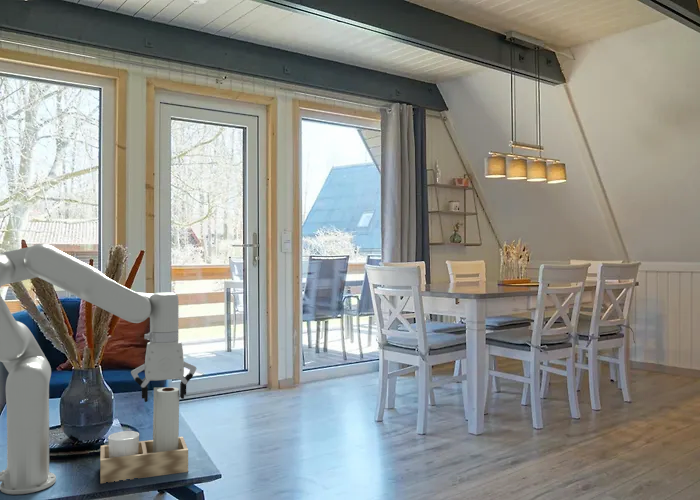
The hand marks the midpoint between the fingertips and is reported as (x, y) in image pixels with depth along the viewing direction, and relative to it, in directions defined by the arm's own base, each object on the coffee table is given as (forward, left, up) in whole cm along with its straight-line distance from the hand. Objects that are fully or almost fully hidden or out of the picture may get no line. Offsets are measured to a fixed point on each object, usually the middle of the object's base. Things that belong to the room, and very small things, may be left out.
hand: (164, 399), depth 167 cm
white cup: (-11, 0, -19) cm, 22 cm away
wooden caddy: (-5, 0, -19) cm, 20 cm away
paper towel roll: (+1, +1, -19) cm, 19 cm away
